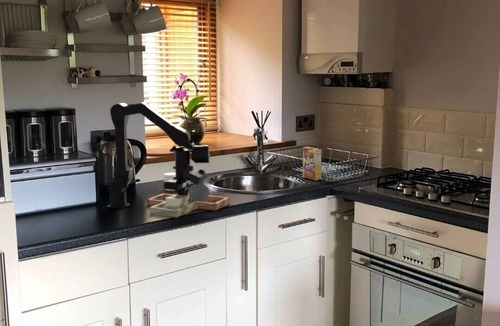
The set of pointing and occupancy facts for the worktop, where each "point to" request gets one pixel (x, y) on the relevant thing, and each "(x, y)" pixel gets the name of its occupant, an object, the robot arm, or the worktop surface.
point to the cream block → (176, 201)
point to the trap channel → (160, 206)
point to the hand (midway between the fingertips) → (183, 203)
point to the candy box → (311, 162)
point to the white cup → (169, 177)
